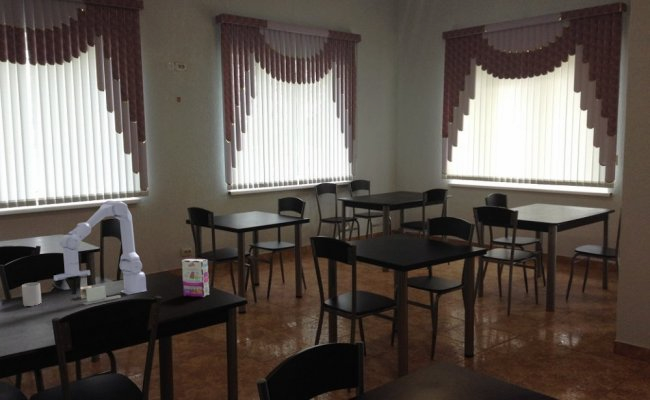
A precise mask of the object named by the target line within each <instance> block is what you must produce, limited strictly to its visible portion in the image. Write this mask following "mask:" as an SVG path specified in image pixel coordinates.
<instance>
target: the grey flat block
mask: <svg viewBox="0 0 650 400" xmlns="http://www.w3.org/2000/svg"><path fill="white" fill-rule="evenodd" d="M106 298H107V294H106V286H105V285H100V286H95V287H91V288H89V289H86V298H85V299H86V302H91V301H96V300H101V299H106Z"/></svg>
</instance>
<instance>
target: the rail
mask: <svg viewBox="0 0 650 400" xmlns="http://www.w3.org/2000/svg"><path fill="white" fill-rule="evenodd" d="M121 298H122V295H120V294H118V295H112V296H106V299H101V300H96V301H91V302H87V301H83V302H82V305H85V306H87V305H91V304H97V303H101V302H106V301H108V302H109V301H112V300H116V299H121Z"/></svg>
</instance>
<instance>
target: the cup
mask: <svg viewBox="0 0 650 400" xmlns="http://www.w3.org/2000/svg"><path fill="white" fill-rule="evenodd" d="M41 291H42V290H41V283H40V282H27V283H24V284H22V285H21V295H22V303H23V306H24V307H26V306H31V307H35V306H34V305H37V306H39V305H38V304H40V303H41V304H42V293H41ZM41 304H40V305H41Z"/></svg>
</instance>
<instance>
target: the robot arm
mask: <svg viewBox="0 0 650 400" xmlns="http://www.w3.org/2000/svg"><path fill="white" fill-rule="evenodd" d="M106 217H107V218H108V217H114V218H115V219H118V221H119V224H120V226H119V227H120V236H121V245H122V254H121V256H120V261H119V269H120V270H121V271H122V276H123V278H122V279H123V290H120V292H121V293H123V294H125V295H132V294H138V293H142V292H148V290H147V280H146V279H147V278H146V274H145V272H144V271H142V269H143V263H142V262H141V260H140V256H139V255H138V254H137V252H136V246H135V245H136V243H135V236H134V235H135V233H134V226H133V216H132V213H131V212H130V209H129V208H128V204H127V203H125V202H123V201H114V200H106V201H105V202H104V203H103V204H102V205H100V207H99V208H98V210H96V211H95V212H94V214H93V215H91V216H90V217H89V219H87V220H86V221H85V222H79V223H77V224H76V227H75V228H73V229H72V230H71V231H69V232H68V234H65V235H63V236H62V238H61V240H60V241H59V245H60V246H61V247H62V251H63V253H62V254H63V264H64V273H58V274H56V275H53V280H54V281H61V280H64V281H65V282H66V284H67V285H68V288H69V290H70V294H71V295H77V292H78V291H77V290H78V287H79V284H80V282H81V277H83V276H84V277H85V276H90V275H91V270H90V269H86V270H80V263H79V262H80V261H79V249H78V248H79V247H80V245H81V242H82V241H83V240H84V239H85V238H86V237H88V236H89V235H90V234H91V232H92V228H94V226H96V225H97V224H98V223H99V222H101V221H102V220H103V219H104V218H106Z"/></svg>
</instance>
